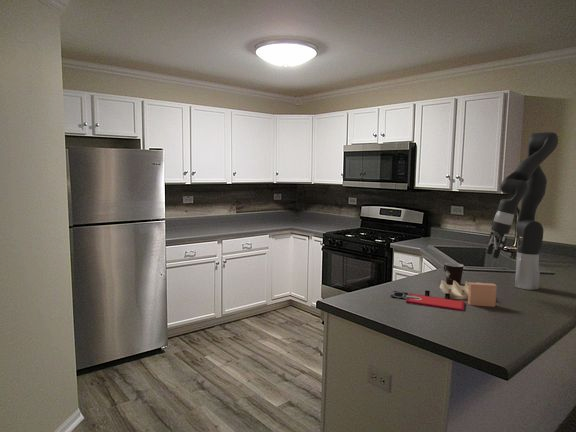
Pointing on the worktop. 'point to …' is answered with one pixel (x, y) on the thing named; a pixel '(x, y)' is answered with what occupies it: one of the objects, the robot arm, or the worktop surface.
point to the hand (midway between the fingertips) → (491, 255)
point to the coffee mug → (453, 272)
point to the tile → (482, 294)
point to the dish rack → (456, 290)
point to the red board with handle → (431, 300)
